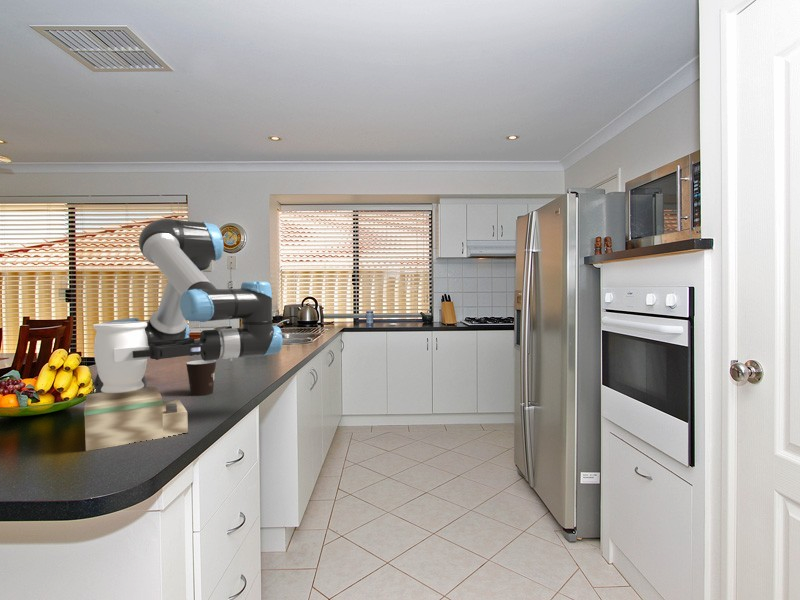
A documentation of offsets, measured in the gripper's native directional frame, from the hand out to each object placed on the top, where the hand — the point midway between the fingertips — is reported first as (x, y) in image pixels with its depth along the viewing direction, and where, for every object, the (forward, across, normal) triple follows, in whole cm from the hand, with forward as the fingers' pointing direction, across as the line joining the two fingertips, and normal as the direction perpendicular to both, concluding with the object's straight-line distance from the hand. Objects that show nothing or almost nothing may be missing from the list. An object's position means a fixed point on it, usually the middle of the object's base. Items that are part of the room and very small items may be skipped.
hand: (113, 352), depth 100 cm
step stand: (-4, 0, -19) cm, 19 cm away
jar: (-2, 0, -9) cm, 9 cm away
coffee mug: (-25, +35, -19) cm, 47 cm away
